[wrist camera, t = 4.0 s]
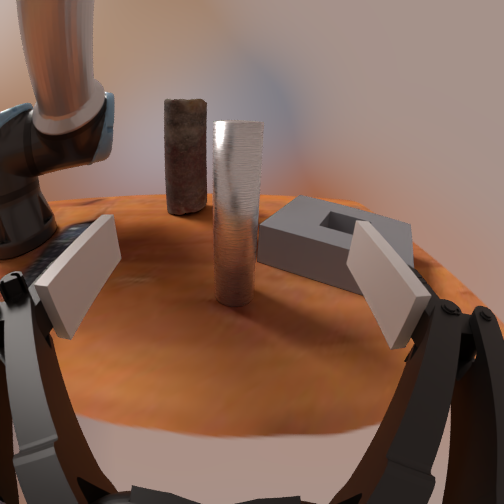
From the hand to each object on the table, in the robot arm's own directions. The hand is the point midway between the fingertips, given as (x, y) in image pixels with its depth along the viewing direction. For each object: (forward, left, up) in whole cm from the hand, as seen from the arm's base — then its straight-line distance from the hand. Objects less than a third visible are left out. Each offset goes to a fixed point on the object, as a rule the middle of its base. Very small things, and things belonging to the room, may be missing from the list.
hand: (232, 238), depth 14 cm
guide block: (+3, +23, -12) cm, 26 cm away
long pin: (-5, +9, -12) cm, 15 cm away
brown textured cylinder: (-25, +25, -12) cm, 37 cm away
